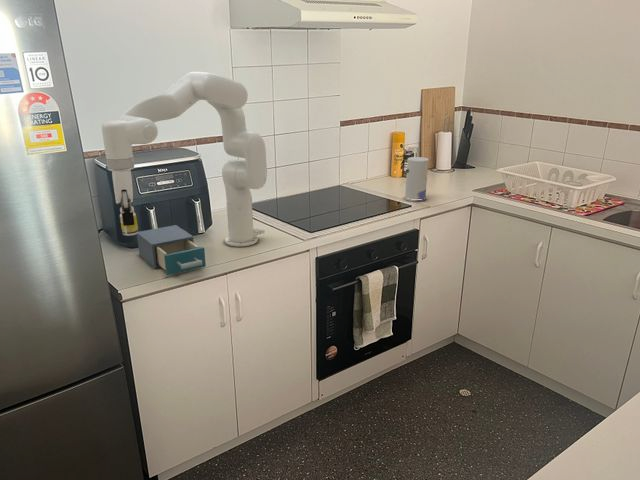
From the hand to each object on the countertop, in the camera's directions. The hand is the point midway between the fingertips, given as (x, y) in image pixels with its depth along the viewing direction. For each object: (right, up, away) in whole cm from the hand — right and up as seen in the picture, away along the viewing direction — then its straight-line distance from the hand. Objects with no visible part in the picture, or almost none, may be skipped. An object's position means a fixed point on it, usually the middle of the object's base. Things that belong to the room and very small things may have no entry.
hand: (128, 221), depth 170 cm
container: (+107, +21, +102) cm, 149 cm away
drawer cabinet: (+4, -10, +28) cm, 30 cm away
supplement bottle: (0, -4, +2) cm, 4 cm away
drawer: (+12, -14, +17) cm, 25 cm away
